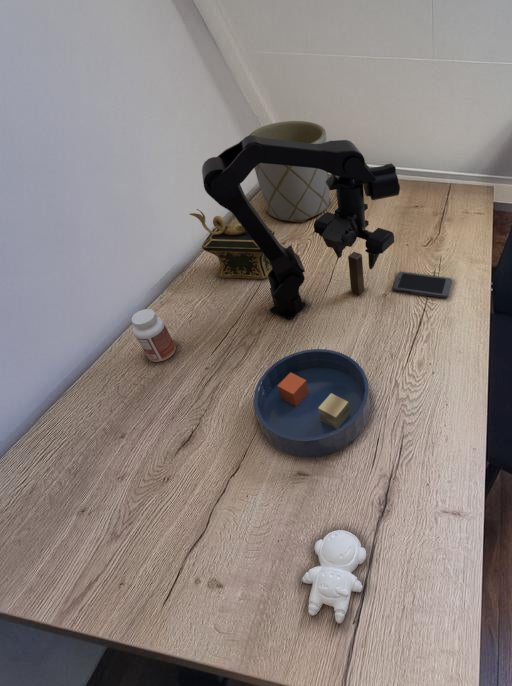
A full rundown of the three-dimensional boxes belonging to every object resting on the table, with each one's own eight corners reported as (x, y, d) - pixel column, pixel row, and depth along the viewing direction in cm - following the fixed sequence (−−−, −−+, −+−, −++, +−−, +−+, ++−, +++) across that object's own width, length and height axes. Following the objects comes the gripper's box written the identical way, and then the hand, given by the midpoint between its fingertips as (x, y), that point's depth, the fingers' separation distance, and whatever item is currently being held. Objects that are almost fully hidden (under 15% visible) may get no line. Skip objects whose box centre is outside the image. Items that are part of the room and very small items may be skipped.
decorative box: (281, 260, 126) (267, 194, 112) (272, 281, 119) (256, 214, 105) (213, 257, 128) (191, 193, 115) (200, 278, 121) (175, 212, 108)
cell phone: (447, 298, 110) (448, 296, 110) (392, 290, 113) (392, 288, 113) (452, 280, 115) (452, 278, 115) (398, 273, 119) (398, 271, 118)
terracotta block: (280, 398, 90) (277, 385, 87) (293, 384, 92) (290, 372, 89) (296, 407, 88) (292, 394, 85) (309, 393, 90) (306, 380, 88)
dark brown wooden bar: (351, 292, 114) (347, 256, 106) (356, 287, 115) (353, 251, 108) (359, 295, 113) (356, 259, 105) (364, 290, 114) (362, 254, 107)
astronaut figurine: (291, 609, 63) (288, 602, 61) (323, 526, 71) (321, 517, 69) (351, 631, 61) (349, 624, 59) (376, 542, 69) (375, 534, 67)
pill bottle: (175, 339, 104) (158, 303, 97) (177, 358, 100) (159, 321, 92) (147, 347, 103) (127, 310, 95) (147, 366, 99) (126, 329, 91)
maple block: (320, 420, 85) (318, 407, 83) (333, 405, 88) (331, 392, 85) (337, 430, 84) (335, 417, 81) (350, 414, 86) (348, 401, 83)
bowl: (236, 423, 87) (229, 406, 83) (306, 353, 99) (303, 335, 96) (325, 479, 77) (321, 462, 74) (390, 393, 90) (390, 375, 86)
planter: (304, 233, 136) (292, 156, 120) (248, 215, 145) (230, 142, 129) (347, 200, 149) (341, 127, 133) (293, 185, 159) (281, 116, 143)
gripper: (293, 209, 97) (303, 268, 107) (366, 232, 89) (369, 293, 99) (325, 187, 103) (331, 245, 114) (395, 207, 95) (395, 267, 106)
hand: (355, 262), depth 108 cm, fingers open, 9 cm apart
